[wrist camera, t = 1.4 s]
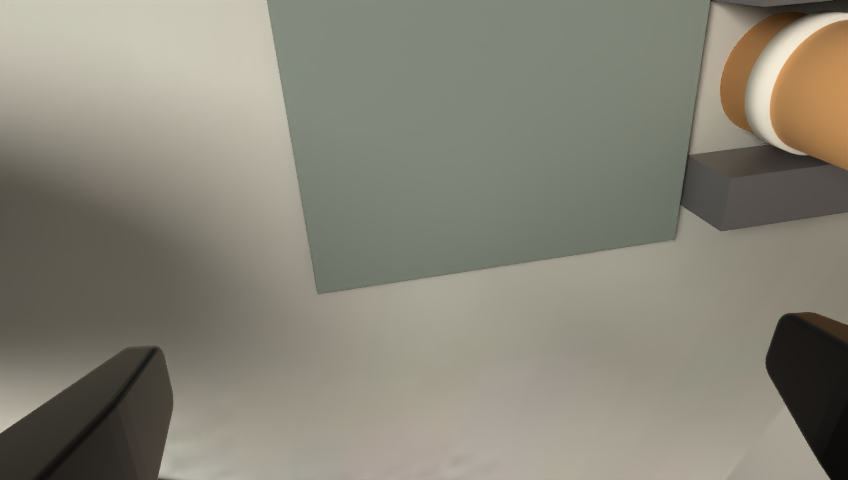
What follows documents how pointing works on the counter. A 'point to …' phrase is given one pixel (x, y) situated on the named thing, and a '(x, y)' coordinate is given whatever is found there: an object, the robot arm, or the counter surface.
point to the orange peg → (792, 84)
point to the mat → (484, 129)
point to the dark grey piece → (762, 180)
